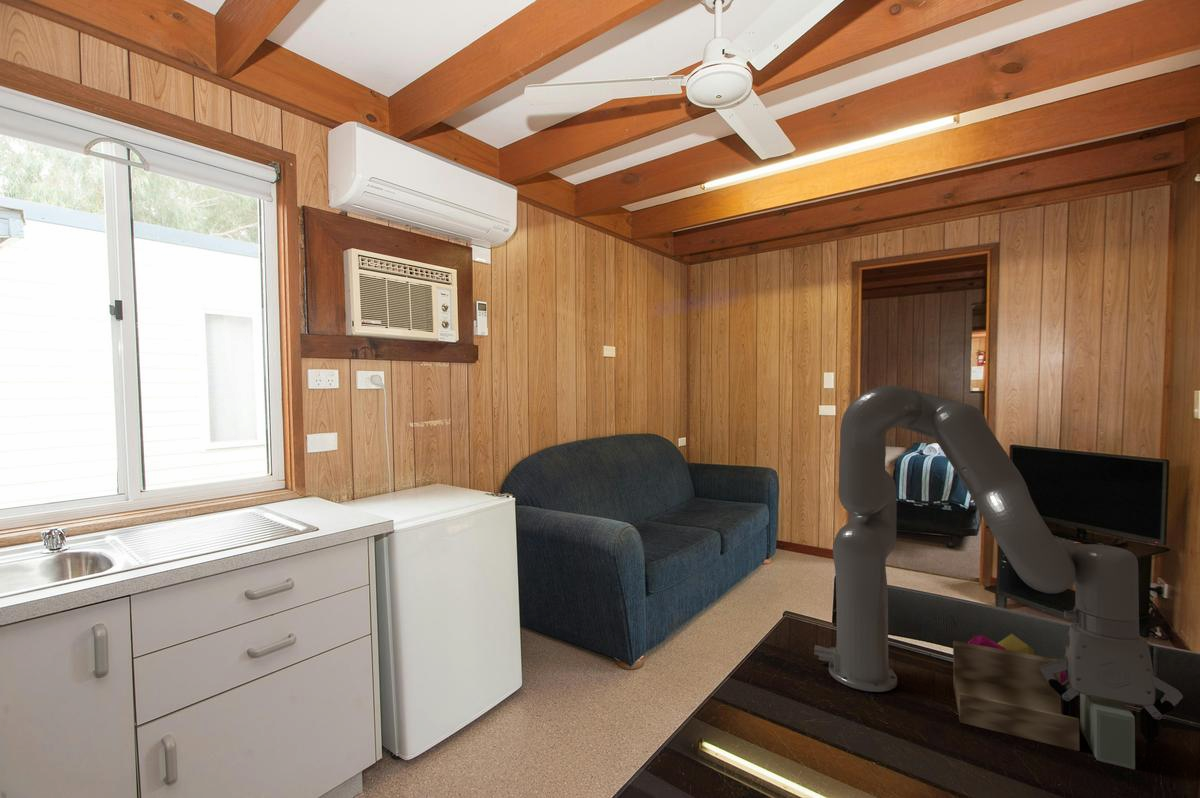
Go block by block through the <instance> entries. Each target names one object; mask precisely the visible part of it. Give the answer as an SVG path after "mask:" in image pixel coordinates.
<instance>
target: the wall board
mask: <svg viewBox="0 0 1200 798" xmlns="http://www.w3.org/2000/svg"><path fill="white" fill-rule="evenodd" d="M952 647H953V648H952V652H953V653H952V654H953V655H952V657H953V658H952V659H953V660H952V661H953V662H952V663H953V664H952V665H953V666H952V669H953V670H952V671H953V673H952V674H953V675H952V677H953V681H952V682H953V684H952V686H953V691H954V697H955V702H956V706H957V713H958V720H959V723H960V724H964V725H970V726H974V727H977V728H982V729H985V730H989V731H994V732H997V733H998V732H999V733H1002V734H1006V735H1010V736H1014V737H1017V738H1018V737H1019V738H1023V739H1027V740H1031V741H1035V742H1040V743H1044V744H1048V745H1052V746H1056V747H1060V748H1065V749H1069V750H1073V751H1076V752H1077V751H1078V752H1080V718H1078V717H1076V718H1075V717H1070V716H1066V715H1062V714H1061V696H1060V695H1059V694H1058V693H1057V692H1056V691H1055V690H1054V689H1053V688H1052V687H1051V686H1050V684H1049V683H1048V681H1047V680H1046V678H1045V677H1044V675H1043V674H1042V672H1041V670H1040V668H1039V666H1040V665H1042V664H1046V663H1050V662H1054V661H1057V660H1059V659H1057V658H1053V657H1052V658H1051V657H1046V656H1040V655H1035V654H1034V655H1030V654H1024V653H1019V652H1013V651H1008V650H1002V649H997V648H991V647H985V646H980V645H974V644H969V643H968V642H963V641H956V640H953V641H952ZM1053 676H1054V677H1055V679H1056V680H1057V681H1058V682H1059V683H1060V672H1057V673H1054V674H1053Z"/></svg>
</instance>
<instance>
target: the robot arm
mask: <svg viewBox="0 0 1200 798" xmlns="http://www.w3.org/2000/svg"><path fill="white" fill-rule="evenodd" d="M896 428H897V429H898V428H900V429H904V430H907V431H910V432H913V433H916V434H919V435H923V436H924V437H925V436H926V437H928V438H932V439H934V440H935V441H936V443H937V445H938V446H939V447H940V449H941V451H942V452H943V454H944V456H945V457H946V458H947V460H948V462H949V463H950V464H951V466H952V468H953V470H954V471H955V473H956V474H957V476H958V477H959V479H960V481H961V482H962V485H964V487H965V489H966V490H967V492H968V493H969V495H970V497H971V499H972V501H973V503H974V505H975V507H976V508H977V510H978V511H979V513H980V515H981V516H982V518H983V519H984V521H985V523H986V525H987V527H988V529H989V530H990V532H991V534H992V536H993V537H994V539H995V541H996V543H997V544H998V546H999V547H1000V549H1001V551H1002V552H1003V554H1004V555H1005V557H1006V558H1007V561H1008V562H1009V563H1010V565H1011V567H1012V568H1013V570H1014V571H1015V572H1016V574H1017V576H1018V577H1019V578H1020V579H1021V580H1022V581H1023V582H1024V583H1025V584H1026V585H1027V586H1029V587H1030V588H1031V589H1034V590H1035V591H1038V592H1041V593H1046V594H1060V593H1062V592H1065V591H1066V590H1068V589H1070V588H1071V587H1072V585H1074V590H1075V591H1074V592H1075V593H1074V594H1075V595H1074V596H1075V599H1074V600H1075V603H1074V604H1075V605H1074V606H1073V609H1072V610H1064V611H1063V616H1064V619H1065V620H1070V621H1072V622H1074V623H1072V624H1070V627H1069V630H1068V634H1067V641H1066V644H1065V645H1066V646H1065V655H1064V658H1062V659H1058V660H1057V661H1054V662H1050V663H1046V664H1042V665H1040V666H1039V668H1040V670H1041V672H1042V674H1043V675H1044V677H1045V678H1046V680H1047V681H1048V683H1049V684H1050V686H1051V687H1052V688H1053V689H1054V690H1055V691H1056V692H1057V693H1058V694H1059V695H1060V696H1061V714H1062V715H1066V716H1070V717H1075V718H1077V717H1076V716H1077V715H1076V713H1077V712H1076V706H1077V705H1076V702H1075V700H1074V698H1076V696H1078V695H1080V693H1081V694H1085V695H1089V696H1093V697H1098V698H1103V699H1108V700H1113V701H1118V702H1124V704H1129V705H1130V704H1131V705H1134V706H1135V705H1136V706H1142V707H1143V708H1141V709H1140V712H1139V715H1140V717H1139V718H1140V723H1139V725H1140V727H1139V728H1140V734H1141V735H1142V737H1143V738H1144V740H1146V742H1147V743H1149V744H1152V745H1155V737H1157V738H1158V737H1159V720H1161V719H1162V718H1163V715H1165V714H1168V713H1170V712H1171V711H1173V710H1174V708H1175V707H1176V706H1177V704H1179V702H1180V701H1181V700H1182V699H1183V698H1184V696H1183V694H1182V692H1180V691H1179V690H1178V689H1177V688H1175V687H1174V686H1172V685H1170V684H1169V683H1168V682H1165V681H1163V680H1162V679H1160V678H1158V677H1156V676H1155V675H1154V669H1153V663H1152V655H1151V652H1150V648H1149V643H1148V642H1147V641H1148V640H1147V639H1145V637H1143V636H1142V635H1140V614H1139V612H1140V606H1139V605H1140V604H1139V603H1140V601H1139V600H1140V599H1139V596H1140V595H1139V594H1140V593H1139V588H1140V587H1139V560H1138V559H1137V557H1136V555H1135V554H1134V553H1133V552H1131V551H1129V550H1127V549H1125V548H1121V547H1117V546H1112V545H1106V544H1098V543H1096V544H1093V543H1088V544H1084V543H1079V542H1075V541H1071V540H1066V539H1061V538H1057V537H1055V536H1054V535H1053V533H1052V532H1051V530H1050V529H1049V527H1048V526H1047V524H1046V522H1045V521H1044V519H1043V517H1042V516H1041V514H1040V512H1039V511H1038V509H1037V507H1036V505H1035V503H1034V501H1033V499H1032V497H1031V493H1030V491H1029V489H1028V485H1027V483H1026V481H1025V479H1024V478H1023V475H1022V473H1021V472H1020V471H1019V469H1018V468H1017V466H1016V465H1015V463H1014V462H1013V460H1012V459H1011V458H1010V457H1009V455H1008V453H1007V452H1006V450H1005V449H1004V447H1003V446H1002V445H1001V443H1000V441H999V440H998V438H997V437H996V436H995V434H994V433H993V431H992V430H991V428H990V427H989V425H988V422H987V418H986V416H985V415H984V413H983V412H982V411H981V410H980V409H979V408H978V407H975V406H974V405H972V404H968V403H964V402H961V401H956V400H953V399H949V398H944V397H941V396H938V395H934V394H931V393H927V392H923V391H920V390H917V389H913V388H910V387H906V386H900V385H895V384H893V385H889V384H888V385H882V386H879V387H875V388H872V389H869V390H868V391H865V392H864V393H862V394H860V395H859V396H857V397H856V398H855V399H854V400H852V402H851V403H850V404H849V405H848V406H847V408H846V410H845V412H844V414H843V416H842V418H841V423H840V431H839V434H840V435H839V457H838V458H839V459H838V461H839V463H838V493H837V494H838V498H839V502H840V503H841V505H842V507H843V509H844V510H846V511H847V512H848V522H847V523H846V524H844V525H843V526H842V527H841V528H840V529H839V530H838V531H837V533H836V535H835V537H834V540H833V544H832V555H833V557H832V558H833V563H834V573H835V597H836V598H835V599H836V644H835V647H833V646H830V647H829V648H828V647H824V646H822V645H817V644H814V648H813V652H814V653H813V654H814V655H815V656H818V660H819V661H824V662H829V663H828V672H829V674H830V676H832V678H833V679H835V680H836V681H837V682H839V683H841V684H843V685H845V686H847V687H850V688H852V689H856V690H860V691H864V692H870V693H883V692H888V691H892V690H893V689H895V688H896V687H897V686H898V676H897V675H896V673H895V672H894V670H893V669H891V668H890V667H889V602H888V598H889V597H888V595H889V594H888V582H887V581H888V578H887V577H888V576H887V570H886V569H887V568H886V567H887V565H886V564H887V563H886V562H887V558H888V557H889V556H890V554H891V553H892V551H893V550H894V548H895V546H896V543H897V518H898V517H897V509H898V507H897V505H898V500H897V499H898V496H897V493H898V492H897V486H896V482H895V480H894V478H893V477H892V475H891V474H890V473H889V472H888V471H887V470H886V457H887V456H886V455H887V451H886V450H887V448H886V436H887V434H888V431H889V430H892V429H896ZM1064 670H1065V675H1066V678H1067V680H1066V681H1065V682H1064V683H1062V684H1061V683H1059V682H1058V681H1057V680H1056V679H1055V677H1054V676H1053V674H1054V673H1057V672H1060V671H1064ZM1156 689H1158V690H1159V691H1160V692H1163V693H1164V694H1163V697H1160V698H1158V699H1156Z"/></svg>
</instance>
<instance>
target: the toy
mask: <svg viewBox="0 0 1200 798" xmlns="http://www.w3.org/2000/svg"><path fill="white" fill-rule="evenodd" d="M967 643H969V644H974V645H980V646H985V647H991V648H997V649H1002V650H1008V651H1013V652H1019V653H1024V654H1030V655H1035V649H1034V648H1032V647H1031V646H1030V645H1028V644H1027V643H1026V642H1025V641H1023V640H1021V639H1020V638H1018V637H1017V636H1016V635H1014V634H1013V633H1011V634H1009V635H1008V636H1005V638H1003V639H1002V640H1000V641H999V642H996V641H993V640H992V639H990V638H989V637H987V636H985V635H983V634H980V635H974V636H973V637H972V638H971V639H970V640H968V642H967ZM1066 680H1067V678H1066V675H1065V670H1064V671H1060V683H1061V684H1062V683H1064V682H1065V681H1066Z"/></svg>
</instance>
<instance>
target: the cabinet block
mask: <svg viewBox="0 0 1200 798" xmlns="http://www.w3.org/2000/svg"><path fill="white" fill-rule="evenodd" d="M1135 718H1136V717H1135V716H1134V714H1133V713H1132V712H1131V710H1130V708H1129V707H1128V706H1127V705H1126V703H1124V702H1118V701H1113V700H1108V699H1103V698H1098V697H1093V696H1089V695H1085V694H1081V693H1079V731H1080V732H1081V734H1082V735H1083V737H1084V738H1085V739H1084V740H1085V741H1086V743H1087V744H1088V747H1089V749H1090V750H1091V752H1092V754H1093V755H1094V758H1095V759H1096V761H1098V762H1099V761H1100V762H1102V763H1106V764H1111V765H1114V766H1120V767H1123V768H1127V769H1131V770H1136V734H1135V733H1136V729H1135V728H1136V725H1135V723H1136V722H1135V721H1136V720H1135Z"/></svg>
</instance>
